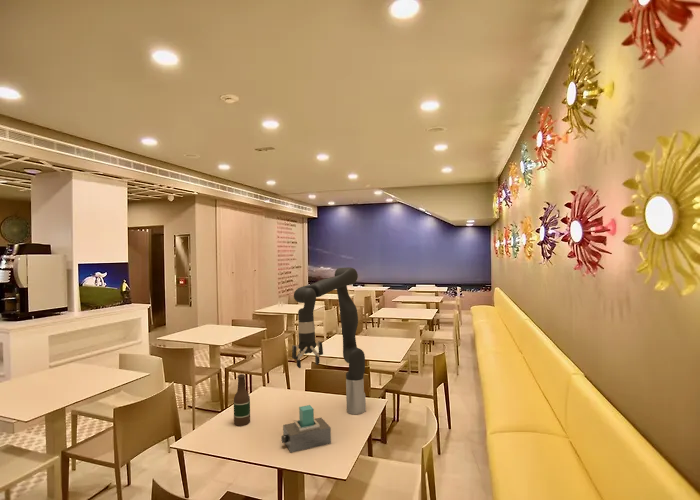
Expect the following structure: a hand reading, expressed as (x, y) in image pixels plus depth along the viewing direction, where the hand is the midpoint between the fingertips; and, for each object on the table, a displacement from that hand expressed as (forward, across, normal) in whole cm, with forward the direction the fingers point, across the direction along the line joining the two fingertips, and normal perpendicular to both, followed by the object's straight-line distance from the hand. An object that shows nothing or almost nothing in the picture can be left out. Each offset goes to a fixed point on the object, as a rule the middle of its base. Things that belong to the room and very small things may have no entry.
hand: (308, 366), depth 181 cm
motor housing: (+31, +4, +7) cm, 32 cm away
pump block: (+24, +4, +7) cm, 25 cm away
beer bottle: (+31, +27, -27) cm, 49 cm away
